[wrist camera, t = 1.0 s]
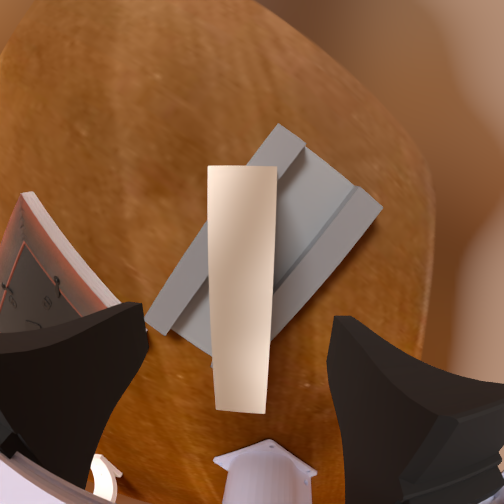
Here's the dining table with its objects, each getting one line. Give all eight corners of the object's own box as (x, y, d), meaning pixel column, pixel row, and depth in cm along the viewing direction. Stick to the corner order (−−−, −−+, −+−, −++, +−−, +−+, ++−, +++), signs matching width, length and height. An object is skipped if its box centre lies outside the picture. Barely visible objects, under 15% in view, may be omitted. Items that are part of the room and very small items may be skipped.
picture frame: (68, 406, 27) (150, 326, 22) (59, 417, 25) (138, 342, 20) (-9, 313, 25) (37, 190, 20) (-21, 320, 23) (19, 193, 18)
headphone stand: (101, 454, 29) (69, 511, 17) (126, 477, 30) (101, 532, 18) (84, 452, 30) (52, 503, 18) (108, 474, 31) (82, 524, 19)
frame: (277, 171, 16) (277, 166, 10) (269, 352, 19) (264, 413, 13) (232, 170, 16) (208, 165, 10) (232, 350, 19) (216, 409, 13)
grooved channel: (373, 204, 18) (383, 207, 16) (235, 366, 22) (232, 380, 20) (278, 128, 17) (278, 123, 15) (152, 309, 21) (142, 319, 19)
